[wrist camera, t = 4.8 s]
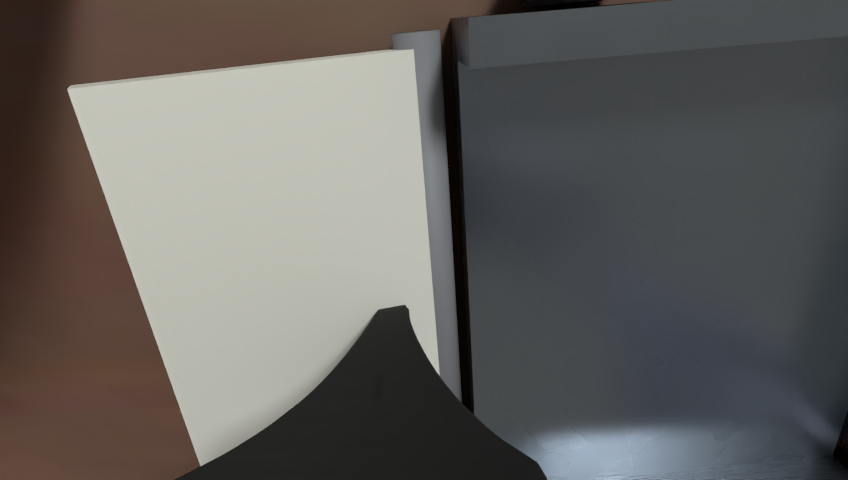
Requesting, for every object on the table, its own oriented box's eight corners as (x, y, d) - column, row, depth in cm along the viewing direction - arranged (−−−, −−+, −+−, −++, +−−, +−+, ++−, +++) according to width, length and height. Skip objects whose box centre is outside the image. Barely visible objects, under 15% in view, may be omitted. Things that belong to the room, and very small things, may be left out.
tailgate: (473, 500, 16) (258, 630, 13) (453, 474, 17) (248, 591, 14) (449, 29, 10) (58, 67, 7) (420, 30, 11) (64, 65, 8)
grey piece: (925, 459, 17) (1068, 578, 14) (475, 506, 17) (498, 640, 13) (1174, -100, 11) (1584, -163, 7) (447, -40, 10) (477, -72, 7)
